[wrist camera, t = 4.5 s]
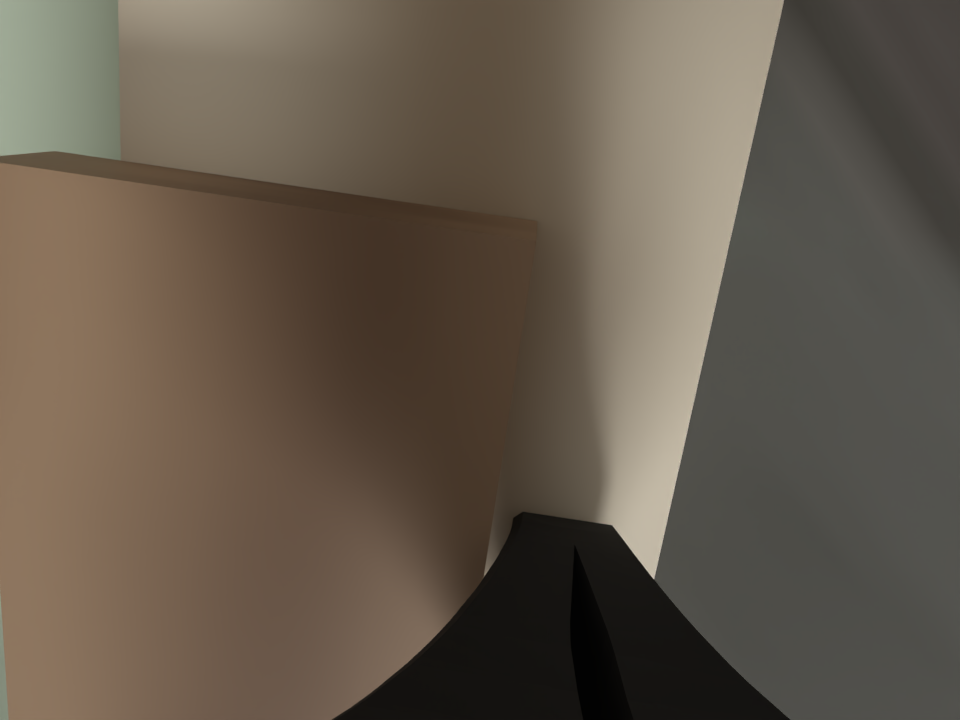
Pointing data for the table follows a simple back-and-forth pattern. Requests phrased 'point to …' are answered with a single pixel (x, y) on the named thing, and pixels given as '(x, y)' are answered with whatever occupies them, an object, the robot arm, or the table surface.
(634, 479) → the beige flat block
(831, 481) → the table surface
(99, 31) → the mat
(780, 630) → the table surface
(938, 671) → the table surface
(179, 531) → the tile
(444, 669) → the robot arm
